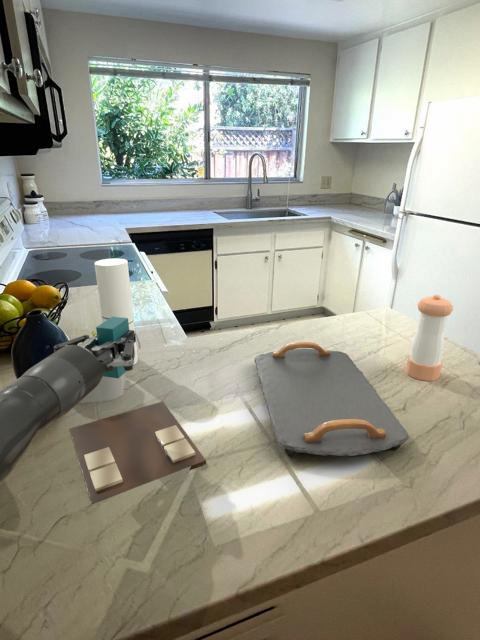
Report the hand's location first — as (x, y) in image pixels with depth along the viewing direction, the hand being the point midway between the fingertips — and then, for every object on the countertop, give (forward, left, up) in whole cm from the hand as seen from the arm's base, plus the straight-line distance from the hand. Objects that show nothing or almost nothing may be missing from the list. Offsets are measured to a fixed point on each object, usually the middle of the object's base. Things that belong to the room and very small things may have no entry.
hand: (123, 334), depth 70 cm
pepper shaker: (+64, -16, -18) cm, 68 cm away
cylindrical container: (+5, +25, -18) cm, 31 cm away
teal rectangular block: (-2, -2, -6) cm, 6 cm away
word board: (-2, -8, -18) cm, 20 cm away
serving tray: (+35, -13, -18) cm, 41 cm away
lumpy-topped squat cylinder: (-4, +14, -18) cm, 23 cm away
